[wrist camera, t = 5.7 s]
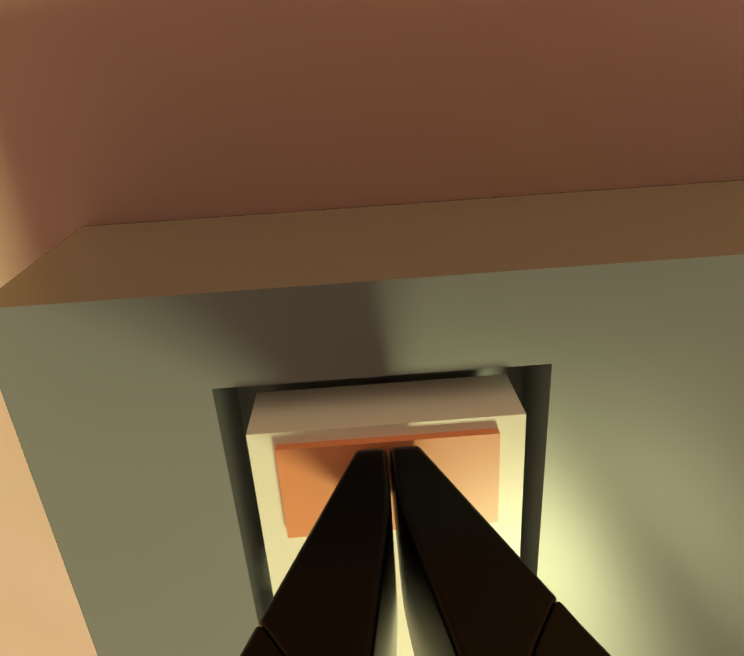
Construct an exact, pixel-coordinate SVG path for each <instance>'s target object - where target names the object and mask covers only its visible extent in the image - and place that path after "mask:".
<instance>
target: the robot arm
mask: <svg viewBox="0 0 744 656" xmlns="http://www.w3.org/2000/svg"><path fill="white" fill-rule="evenodd" d="M390 462H391V479H392V495H393V507H394V518H395V528H396V539H397V549H398V559H399V570H400V580H401V590H402V598H403V606H404V611H405V616H406V621H407V626H408V630H409V635H410V639H411V644H412V648H413V653H414V656H611V655H610V654H609V653H608V652H607V651H606V650H605V649H604V648H603V647H602V646H601V645H600V644H599V643H598V642H597V640H596V639H595V638H594V637H593V636H592V635H591V634H590V633H589V632H588V631H587V630H586V629H585V628H584V627H583V626H582V625H581V624H580V623H579V622H578V621H577V619H576V618H575V617H574V616H573V615H572V614H571V613H570V612H569V611H568V609H567V608H566V607H565V606H564V605H563V604H562V603H561V602H559V601H558V602H557V599H556V597H555V595H554V594H553V593H552V592H551V591H550V590H549V589H548V588H547V587H546V585H545V584H544V583H543V582H542V581H541V580H540V579H539V578H538V577H537V576H536V574H535V573H534V572H533V571H532V570H531V569H530V568H529V567H528V566H527V565H526V563H525V562H524V561H523V560H522V559H521V558H520V557H519V556H518V555H517V554H516V552H515V551H514V550H513V549H512V548H511V547H510V546H509V545H508V544H507V543H506V541H505V540H504V539H503V538H502V537H501V536H500V535H499V534H498V533H497V532H496V530H495V529H494V528H493V527H492V526H491V525H490V524H489V523H488V522H487V521H486V519H485V518H484V517H483V516H482V515H481V514H480V513H479V512H478V511H477V510H476V508H475V507H474V506H473V505H472V504H471V503H470V502H469V501H468V500H467V499H466V497H465V496H464V495H463V494H462V493H461V492H460V491H459V490H458V489H457V488H456V486H455V485H454V484H453V483H452V482H451V481H450V480H449V479H448V478H447V476H446V475H445V474H444V473H443V472H442V471H441V470H440V469H439V468H438V467H437V465H436V464H435V463H434V462H433V461H432V460H431V459H430V458H429V457H428V456H427V454H426V453H425V452H424V451H423V450H422V449H421V448H420V447H418V446H403V447H394V448H392V449H391V451H390ZM397 625H398V605H397V588H396V572H395V555H394V539H393V523H392V506H391V493H390V485H389V477H388V468H387V460H386V453H385V451H384V450H383V449H381V448H378V449H365V450H358V451H357V452H356V453H355V454H354V456H353V457H352V459H351V461H350V463H349V465H348V466H347V468H346V470H345V472H344V473H343V475H342V477H341V479H340V480H339V482H338V484H337V486H336V487H335V489H334V491H333V493H332V494H331V496H330V498H329V500H328V502H327V503H326V505H325V507H324V509H323V510H322V512H321V514H320V516H319V517H318V519H317V521H316V523H315V524H314V526H313V528H312V530H311V531H310V533H309V535H308V537H307V539H306V540H305V542H304V544H303V546H302V547H301V549H300V551H299V553H298V554H297V556H296V558H295V560H294V561H293V563H292V565H291V567H290V568H289V570H288V572H287V574H286V576H285V577H284V579H283V581H282V583H281V584H280V586H279V588H278V590H277V591H276V593H275V595H274V597H273V598H272V600H271V602H270V604H269V605H268V607H267V609H266V611H265V613H264V614H263V616H262V618H261V620H260V621H259V626H258V627H256V628H255V630H254V631H253V633H252V635H251V637H250V638H249V640H248V642H247V644H246V645H245V647H244V649H243V651H242V653H241V654H240V656H396V655H397Z"/></svg>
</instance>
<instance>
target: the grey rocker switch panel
mask: <svg viewBox="0 0 744 656" xmlns="http://www.w3.org/2000/svg"><path fill="white" fill-rule="evenodd" d="M503 374H507V376H508V378H509V380H510V382H511V384H512V386H513V388H514V390H515V392H516V394H517V396H518V398H519V400H520V402H521V404H522V406H523V408H524V411H525V413H526V432H525V454H524V476H523V498H522V521H521V543H520V558H521V559H522V560H523V561H524V562H525V563H526V565H527V566H528V567H529V568H530V569H531V570H532V571H533V572H534V573H535V574H536V576H537V577H538V578H539V579H540V580H541V581H542V582H543V583H544V584H545V585H546V587H547V588H548V589H549V590H550V591H551V592H552V593H553V594H554V595H555V597H556V599H557V602H558V601H559V602H561V603H562V604H563V605H564V606H565V607H566V608H567V609H568V611H569V612H570V613H571V614H572V615H573V616H574V617H575V618H576V619H577V621H578V622H579V623H580V624H581V625H582V626H583V627H584V628H585V629H586V630H587V631H588V632H589V633H590V634H591V635H592V636H593V637H594V638H595V639H596V640H597V642H598V643H599V644H600V645H601V646H602V647H603V648H604V649H605V650H606V651H607V652H608V653H609V654H610V655H611V656H744V180H738V181H724V182H709V183H695V184H681V185H667V186H653V187H639V188H624V189H610V190H596V191H582V192H568V193H554V194H540V195H525V196H511V197H497V198H483V199H469V200H455V201H440V202H426V203H412V204H398V205H384V206H370V207H356V208H341V209H327V210H313V211H299V212H285V213H271V214H256V215H242V216H228V217H214V218H200V219H186V220H171V221H157V222H143V223H129V224H115V225H101V226H87V227H81V228H80V229H79V230H77V231H76V232H75V233H73V234H72V235H71V236H69V237H68V238H67V239H65V240H64V241H63V242H61V243H60V244H59V245H57V246H56V247H55V248H53V249H52V250H51V251H49V252H48V253H47V254H45V255H44V256H43V257H41V258H40V259H39V260H37V261H36V262H35V263H33V264H32V265H31V266H29V267H28V268H27V269H25V270H24V271H23V272H21V273H20V274H19V275H17V276H16V277H15V278H13V279H12V280H11V281H9V282H8V283H7V284H5V285H4V286H3V287H1V288H0V390H1V392H2V395H3V398H4V401H5V403H6V406H7V409H8V411H9V414H10V417H11V420H12V422H13V425H14V428H15V431H16V433H17V436H18V439H19V441H20V444H21V447H22V450H23V452H24V455H25V458H26V461H27V463H28V466H29V469H30V472H31V474H32V477H33V480H34V482H35V485H36V488H37V491H38V493H39V496H40V499H41V502H42V504H43V507H44V510H45V513H46V515H47V518H48V521H49V523H50V526H51V529H52V532H53V534H54V537H55V540H56V543H57V545H58V548H59V551H60V553H61V556H62V559H63V562H64V564H65V567H66V570H67V573H68V575H69V578H70V581H71V584H72V586H73V589H74V592H75V594H76V597H77V600H78V603H79V605H80V608H81V611H82V614H83V616H84V619H85V622H86V624H87V627H88V630H89V633H90V635H91V638H92V641H93V644H94V646H95V649H96V652H97V655H98V656H240V654H241V653H242V651H243V649H244V647H245V645H246V644H247V642H248V640H249V638H250V637H251V635H252V633H253V631H254V630H255V628H256V627H258V626H259V621H260V620H261V618H262V616H263V614H264V613H265V611H266V609H267V607H268V605H269V604H270V602H271V600H272V598H273V591H272V585H271V579H270V573H269V567H268V562H267V556H266V550H265V544H264V538H263V532H262V526H261V521H260V515H259V509H258V503H257V497H256V491H255V486H254V480H253V474H252V468H251V462H250V456H249V450H248V445H247V439H246V433H247V429H248V425H249V421H250V417H251V413H252V409H253V405H254V401H255V397H256V394H257V393H259V392H273V391H286V390H300V389H314V388H327V387H341V386H354V385H368V384H381V383H395V382H408V381H422V380H436V379H449V378H463V377H476V376H490V375H503Z"/></svg>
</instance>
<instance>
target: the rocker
mask: <svg viewBox="0 0 744 656" xmlns="http://www.w3.org/2000/svg"><path fill="white" fill-rule="evenodd" d="M525 432H526V413H525V411H524V408H523V406H522V404H521V402H520V400H519V398H518V396H517V394H516V392H515V390H514V388H513V386H512V384H511V382H510V380H509V378H508V376H507V374H503V375H490V376H476V377H463V378H449V379H436V380H422V381H408V382H395V383H381V384H368V385H354V386H341V387H327V388H314V389H300V390H286V391H273V392H259V393H257V394H256V397H255V401H254V405H253V409H252V413H251V417H250V421H249V425H248V429H247V433H246V439H247V445H248V450H249V456H250V462H251V468H252V474H253V480H254V486H255V491H256V497H257V503H258V509H259V515H260V521H261V526H262V532H263V538H264V544H265V550H266V556H267V562H268V567H269V573H270V579H271V585H272V591H273V597H274V595H275V593H276V591H277V590H278V588H279V586H280V584H281V583H282V581H283V579H284V577H285V576H286V574H287V572H288V570H289V568H290V567H291V565H292V563H293V561H294V560H295V558H296V556H297V554H298V553H299V551H300V549H301V547H302V546H303V544H304V542H305V540H306V539H307V537H308V535H309V533H310V531H311V530H312V528H313V526H314V524H315V523H316V521H317V519H318V517H319V516H320V514H321V512H322V510H323V509H324V507H325V505H326V503H327V502H328V500H329V498H330V496H331V494H332V493H333V491H334V489H335V487H336V486H337V484H338V482H339V480H340V479H341V477H342V475H343V473H344V472H345V470H346V468H347V466H348V465H349V463H350V461H351V459H352V457H353V456H354V454H355V453H356V452H357V451H358V450H365V449H378V448H381V449H383V450H384V451H385V453H386V460H387V468H388V477H389V485H390V493H391V506H392V523H393V539H394V555H395V572H396V588H397V605H398V625H397V655H396V656H414V653H413V648H412V644H411V639H410V635H409V630H408V626H407V621H406V616H405V611H404V606H403V598H402V590H401V580H400V570H399V559H398V549H397V539H396V528H395V518H394V507H393V495H392V479H391V462H390V451H391V449H392V448H394V447H403V446H418V447H420V448H421V449H422V450H423V451H424V452H425V453H426V454H427V456H428V457H429V458H430V459H431V460H432V461H433V462H434V463H435V464H436V465H437V467H438V468H439V469H440V470H441V471H442V472H443V473H444V474H445V475H446V476H447V478H448V479H449V480H450V481H451V482H452V483H453V484H454V485H455V486H456V488H457V489H458V490H459V491H460V492H461V493H462V494H463V495H464V496H465V497H466V499H467V500H468V501H469V502H470V503H471V504H472V505H473V506H474V507H475V508H476V510H477V511H478V512H479V513H480V514H481V515H482V516H483V517H484V518H485V519H486V521H487V522H488V523H489V524H490V525H491V526H492V527H493V528H494V529H495V530H496V532H497V533H498V534H499V535H500V536H501V537H502V538H503V539H504V540H505V541H506V543H507V544H508V545H509V546H510V547H511V548H512V549H513V550H514V551H515V552H516V554H517V555H518V556H519V557H520V543H521V521H522V498H523V476H524V454H525Z"/></svg>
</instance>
